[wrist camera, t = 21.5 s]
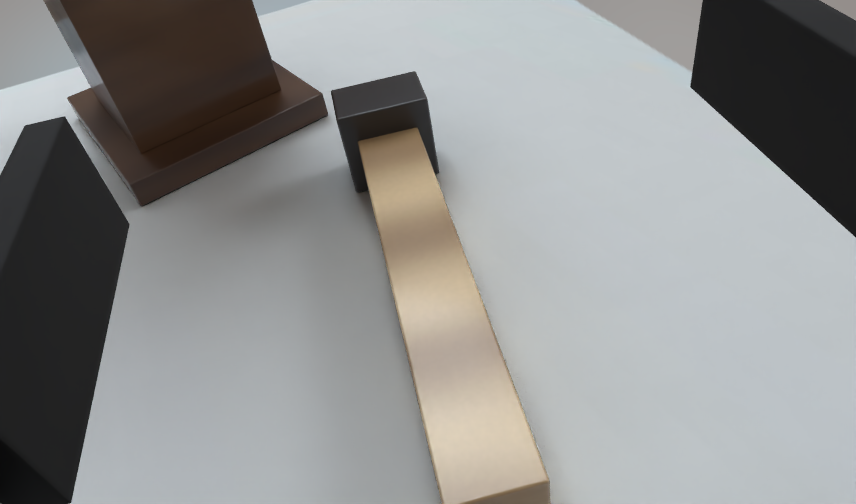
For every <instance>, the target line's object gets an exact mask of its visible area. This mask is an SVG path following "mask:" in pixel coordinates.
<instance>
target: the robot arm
mask: <svg viewBox="0 0 856 504" xmlns="http://www.w3.org/2000/svg"><path fill="white" fill-rule="evenodd" d="M690 87H691V88H692V89H693V90H694V91H695V92H696V93H697V94H699V95H700V96H701V97H702V98H703V99H704V100H705V101H706V102H707V103H708V104H710V105H711V106H712V107H713V108H714V109H715V110H716V111H717V112H718V113H719V114H721V115H722V116H723V117H724V118H725V119H726V120H727V121H728V122H729V123H730V124H732V125H733V126H734V127H735V128H736V129H737V130H738V131H739V132H740V133H741V134H743V135H744V136H745V137H746V138H747V139H748V140H749V141H750V142H751V143H752V144H754V145H755V146H756V147H757V148H758V149H759V150H760V151H761V152H762V153H763V154H765V155H766V156H767V157H768V158H769V159H770V160H771V161H772V162H773V163H774V164H776V165H777V166H778V167H779V168H780V169H781V170H782V171H783V172H784V173H785V174H787V175H788V176H789V177H790V178H791V179H792V180H793V181H794V182H795V183H796V184H798V185H799V186H800V187H801V188H802V189H803V190H804V191H805V192H806V193H807V194H809V195H810V196H811V197H812V198H813V199H814V200H815V201H816V202H817V203H818V204H820V205H821V206H822V207H823V208H824V209H825V210H826V211H827V212H828V213H829V214H831V215H832V216H833V217H834V218H835V219H836V220H837V221H838V222H839V223H840V224H842V225H843V226H844V227H845V228H846V229H847V230H848V231H849V232H850V233H851V234H853V235H854V236H855V237H856V21H855V20H854V19H852V18H850V17H848V16H846V15H845V14H843V13H841V12H839V11H837V10H836V9H834V8H832V7H830V6H828V5H827V4H825V3H823V2H821V1H819V0H703V3H702V10H701V16H700V24H699V31H698V37H697V45H696V52H695V58H694V65H693V72H692V79H691V86H690ZM128 229H129V223H128V221H127V219H126V218H125V216H124V214H123V213H122V211H121V209H120V208H119V206H118V204H117V203H116V201H115V199H114V198H113V196H112V194H111V193H110V191H109V189H108V188H107V186H106V184H105V183H104V181H103V179H102V178H101V176H100V174H99V173H98V171H97V169H96V168H95V166H94V164H93V163H92V161H91V159H90V158H89V156H88V154H87V153H86V151H85V149H84V148H83V146H82V144H81V143H80V141H79V139H78V138H77V136H76V134H75V133H74V131H73V129H72V128H71V126H70V124H69V123H68V121H67V119H66V118H65V116H64V117H60V118H56V119H51V120H47V121H43V122H38V123H34V124H30V125H26V126H24V128H23V130H22V132H21V134H20V136H19V138H18V141H17V143H16V145H15V147H14V149H13V151H12V153H11V155H10V157H9V159H8V161H7V163H6V165H5V167H4V169H3V171H2V173H1V175H0V503H1V504H69V503H71V500H72V496H73V491H74V486H75V481H76V477H77V472H78V467H79V462H80V457H81V453H82V448H83V443H84V438H85V434H86V429H87V424H88V419H89V415H90V410H91V405H92V400H93V396H94V391H95V386H96V381H97V377H98V372H99V367H100V362H101V357H102V353H103V348H104V343H105V338H106V334H107V329H108V324H109V319H110V315H111V310H112V305H113V300H114V296H115V291H116V286H117V281H118V277H119V272H120V267H121V262H122V258H123V253H124V248H125V243H126V238H127V234H128Z"/></svg>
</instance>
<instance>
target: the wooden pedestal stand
mask: <svg viewBox="0 0 856 504" xmlns="http://www.w3.org/2000/svg"><path fill="white" fill-rule="evenodd" d="M44 2H45V4H46V6H47V8H48V10H49V11H50V13H51V15H52V17H53V19H54V20H55V22H56V24H57V26H58V28H59V30H60V31H61V33H62V35H63V37H64V39H65V41H66V42H67V44H68V46H69V48H70V49H71V52H72V53H73V55H74V57H75V59H76V61H77V62H78V64H79V66H80V68H81V70H82V72H83V73H84V75H85V77H86V79H87V81H88V82H89V84H90V86H91V88H89V89H87V90H84V91H82V92H80V93H77V94H75V95H72V96H70V97H68V98H67V99H68V101H69V103H70V104H71V106H72V108H73V109H74V111H75V113H76V115H77V116H78V118H79V119H80V120H81V122H82V123H83V125H84V126H85V128H86V129H87V130H88V132H89V133H90V135H91V136H92V137H93V139H94V140H95V142H96V143H97V144H98V146H99V147H100V149H101V150H102V152H103V153H104V154H105V156H106V157H107V159H108V160H109V161H110V163H111V164H112V166H113V167H114V168H115V170H116V171H117V173H118V174H119V176H120V177H121V178H122V180H123V181H124V183H125V184H126V185H127V187H128V188H129V190H130V191H131V192H132V194H133V195H134V197H135V198H136V199H137V201H138V202H139V204H140V205H141V206H143V205H145V204H147V203H149V202H151V201H153V200H155V199H157V198H160V197H162V196H164V195H166V194H168V193H170V192H172V191H174V190H176V189H178V188H180V187H182V186H184V185H186V184H188V183H190V182H192V181H194V180H196V179H198V178H200V177H202V176H204V175H206V174H208V173H210V172H212V171H214V170H217V169H219V168H221V167H223V166H225V165H227V164H229V163H231V162H233V161H235V160H237V159H239V158H241V157H243V156H245V155H247V154H249V153H251V152H253V151H255V150H257V149H259V148H261V147H263V146H265V145H267V144H269V143H271V142H274V141H276V140H278V139H280V138H282V137H284V136H286V135H288V134H290V133H292V132H294V131H296V130H298V129H300V128H302V127H304V126H306V125H308V124H310V123H312V122H314V121H316V120H318V119H320V118H322V117H324V116H326V115H328V112H327V108H326V105H325V101H324V98H323V94H322V93H321V92H319V91H318V90H316V89H315V88H313V87H312V86H310V85H309V84H307V83H306V82H304V81H303V80H301V79H300V78H298V77H297V76H295V75H294V74H292V73H291V72H289V71H288V70H286V69H285V68H283V67H282V66H280V65H279V64H277V63H276V62H274V61H273V60H272V59H271V56H270V53H269V50H268V47H267V44H266V41H265V38H264V35H263V32H262V29H261V26H260V23H259V20H258V17H257V14H256V11H255V8H254V5H253V2H252V0H44Z"/></svg>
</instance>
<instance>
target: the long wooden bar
mask: <svg viewBox="0 0 856 504" xmlns="http://www.w3.org/2000/svg"><path fill="white" fill-rule="evenodd" d="M331 95H332V100H333V105H334V110H335V115H336V120H337V124H338V127H339V131H340V135H341V138H342V142H343V146H344V149H345V153H346V156H347V160H348V164H349V167H350V171H351V175H352V178H353V182H354V186H355V189H356V192H362V191H366V190H369V193H370V198H371V202H372V206H373V211H374V215H375V219H376V223H377V228H378V232H379V236H380V241H381V245H382V249H383V253H384V258H385V262H386V266H387V271H388V275H389V279H390V284H391V288H392V292H393V296H394V301H395V305H396V309H397V314H398V318H399V322H400V326H401V331H402V335H403V339H404V344H405V348H406V352H407V356H408V361H409V365H410V369H411V374H412V378H413V382H414V386H415V391H416V395H417V399H418V404H419V408H420V412H421V416H422V421H423V425H424V429H425V434H426V438H427V442H428V447H429V451H430V455H431V459H432V464H433V468H434V472H435V477H436V481H437V485H438V489H439V494H440V498H441V502H442V504H550V483H549V478H548V475H547V472H546V470H545V467H544V464H543V462H542V459H541V456H540V454H539V451H538V448H537V446H536V443H535V440H534V438H533V435H532V432H531V430H530V427H529V424H528V422H527V419H526V416H525V414H524V411H523V408H522V406H521V403H520V400H519V398H518V395H517V392H516V390H515V387H514V384H513V382H512V379H511V376H510V374H509V371H508V368H507V366H506V363H505V360H504V358H503V355H502V352H501V349H500V347H499V344H498V341H497V339H496V336H495V333H494V331H493V328H492V325H491V323H490V320H489V317H488V315H487V312H486V309H485V307H484V304H483V301H482V299H481V296H480V293H479V291H478V288H477V285H476V283H475V280H474V277H473V275H472V272H471V269H470V267H469V264H468V261H467V259H466V256H465V253H464V251H463V248H462V245H461V243H460V240H459V237H458V235H457V232H456V229H455V227H454V224H453V221H452V219H451V216H450V213H449V211H448V208H447V205H446V203H445V200H444V197H443V194H442V192H441V189H440V186H439V184H438V181H437V178H436V176H435V174H436V173H439V168H438V162H437V156H436V150H435V143H434V137H433V131H432V125H431V119H430V113H429V106H428V100H427V97H426V95H425V93H424V90H423V88H422V85H421V83H420V81H419V78H418V76H417V74H416V72H409V73H405V74H401V75H397V76H392V77H388V78H384V79H379V80H375V81H371V82H366V83H362V84H358V85H354V86H349V87H345V88H341V89H336V90H332V91H331Z"/></svg>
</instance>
